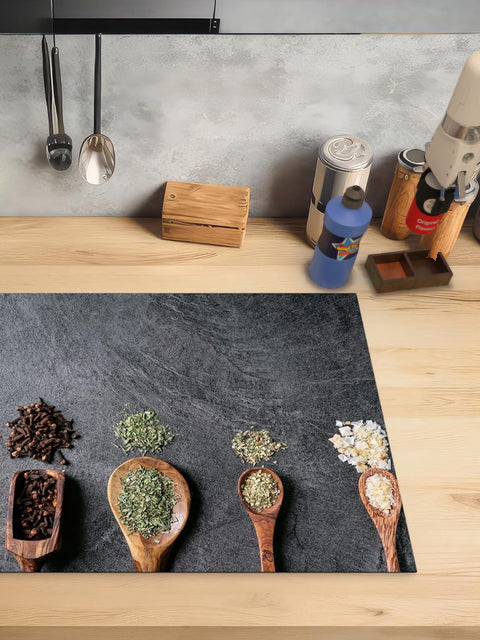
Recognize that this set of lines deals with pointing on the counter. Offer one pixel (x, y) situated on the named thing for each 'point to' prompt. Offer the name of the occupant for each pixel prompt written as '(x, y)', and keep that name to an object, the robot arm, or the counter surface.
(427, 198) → the beverage can
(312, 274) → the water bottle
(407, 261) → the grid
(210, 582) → the counter surface
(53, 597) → the counter surface
